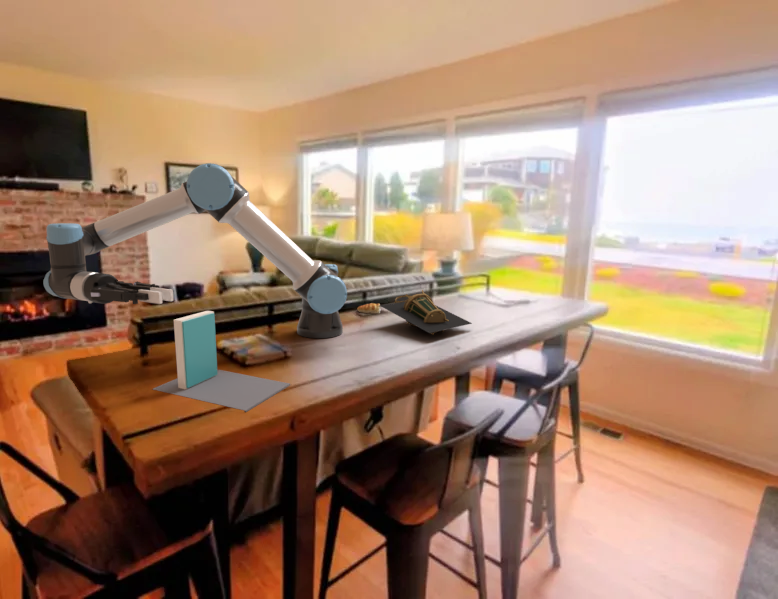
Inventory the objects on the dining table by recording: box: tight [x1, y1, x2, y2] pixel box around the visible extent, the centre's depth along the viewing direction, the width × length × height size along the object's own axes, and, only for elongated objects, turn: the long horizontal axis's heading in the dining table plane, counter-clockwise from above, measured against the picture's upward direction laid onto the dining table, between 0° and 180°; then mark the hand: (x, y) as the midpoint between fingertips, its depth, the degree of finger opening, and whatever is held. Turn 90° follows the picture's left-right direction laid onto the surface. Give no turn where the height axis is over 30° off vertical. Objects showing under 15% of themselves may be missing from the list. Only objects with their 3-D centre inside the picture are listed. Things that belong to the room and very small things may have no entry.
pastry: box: [356, 302, 381, 315], centre depth 185 cm, size 9×7×4 cm
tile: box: [173, 310, 218, 389], centre depth 106 cm, size 2×10×16 cm, turn 158°
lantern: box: [379, 289, 473, 336], centre depth 162 cm, size 14×23×30 cm
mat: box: [152, 368, 291, 413], centre depth 105 cm, size 26×16×1 cm, turn 68°
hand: (166, 296), depth 107 cm, fingers open, 3 cm apart
